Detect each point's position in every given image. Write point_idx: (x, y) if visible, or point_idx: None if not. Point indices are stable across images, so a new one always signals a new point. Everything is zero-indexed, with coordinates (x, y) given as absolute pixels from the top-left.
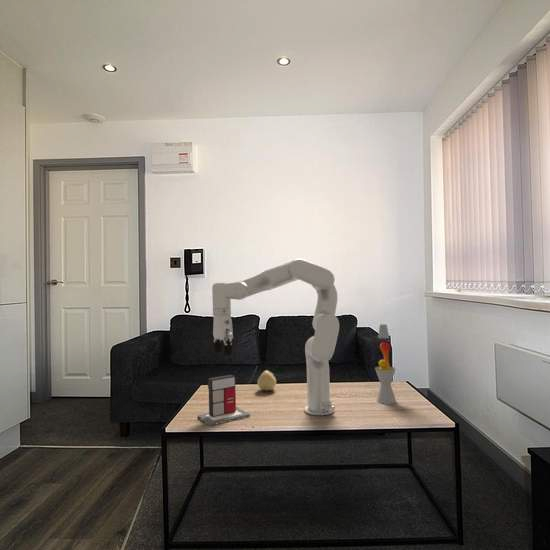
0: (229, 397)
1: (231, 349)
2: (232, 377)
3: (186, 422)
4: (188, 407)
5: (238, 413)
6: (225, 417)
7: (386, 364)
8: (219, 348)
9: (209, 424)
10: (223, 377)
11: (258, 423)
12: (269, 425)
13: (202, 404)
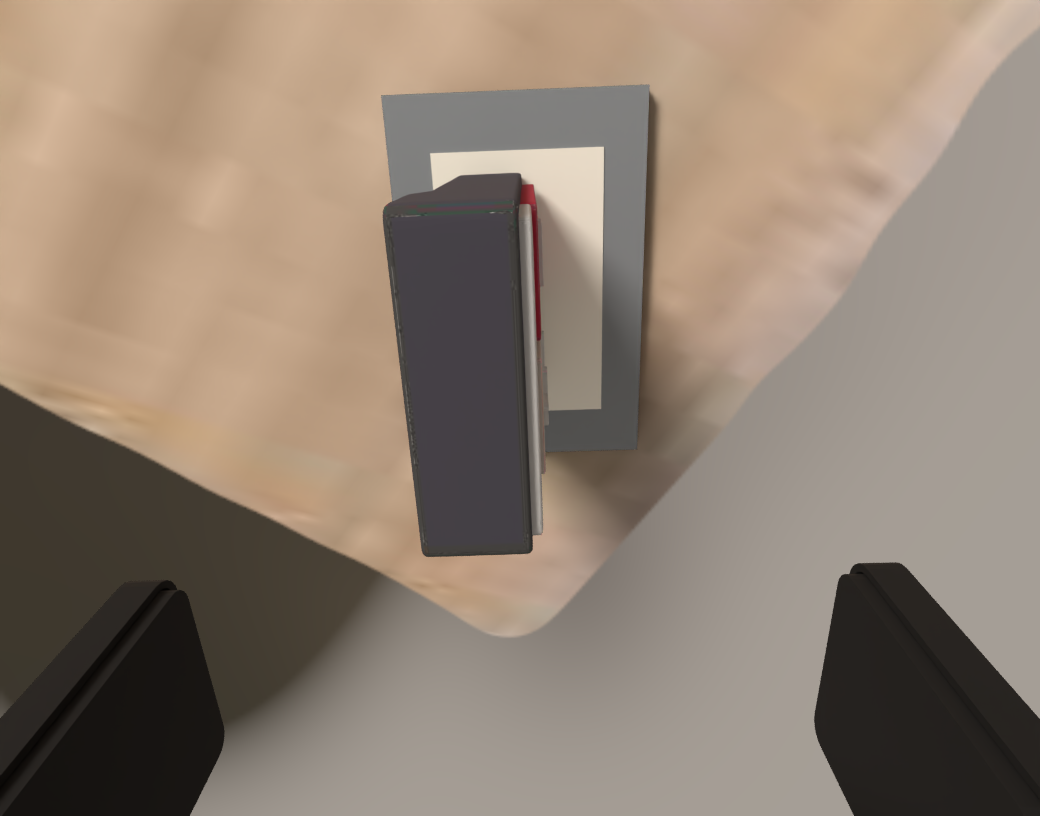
0: (539, 266)
1: (991, 666)
2: (520, 249)
3: None
4: (132, 427)
5: (574, 172)
6: (598, 308)
7: None
8: (146, 713)
9: (635, 444)
10: (501, 389)
11: (840, 107)
12: (948, 47)
13: (93, 308)
